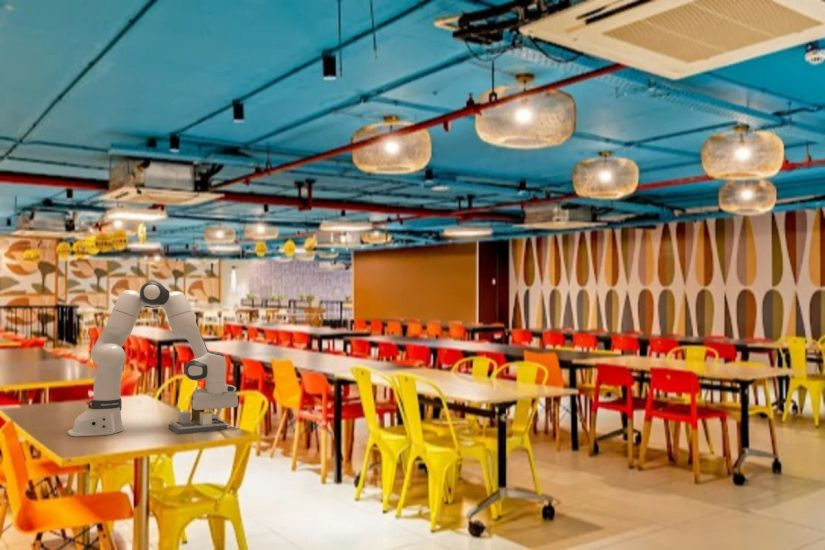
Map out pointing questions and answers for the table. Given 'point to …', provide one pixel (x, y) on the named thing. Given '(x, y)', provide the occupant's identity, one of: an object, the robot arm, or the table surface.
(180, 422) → the block
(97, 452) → the table surface
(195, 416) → the condiment
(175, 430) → the grey tray
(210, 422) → the fader
